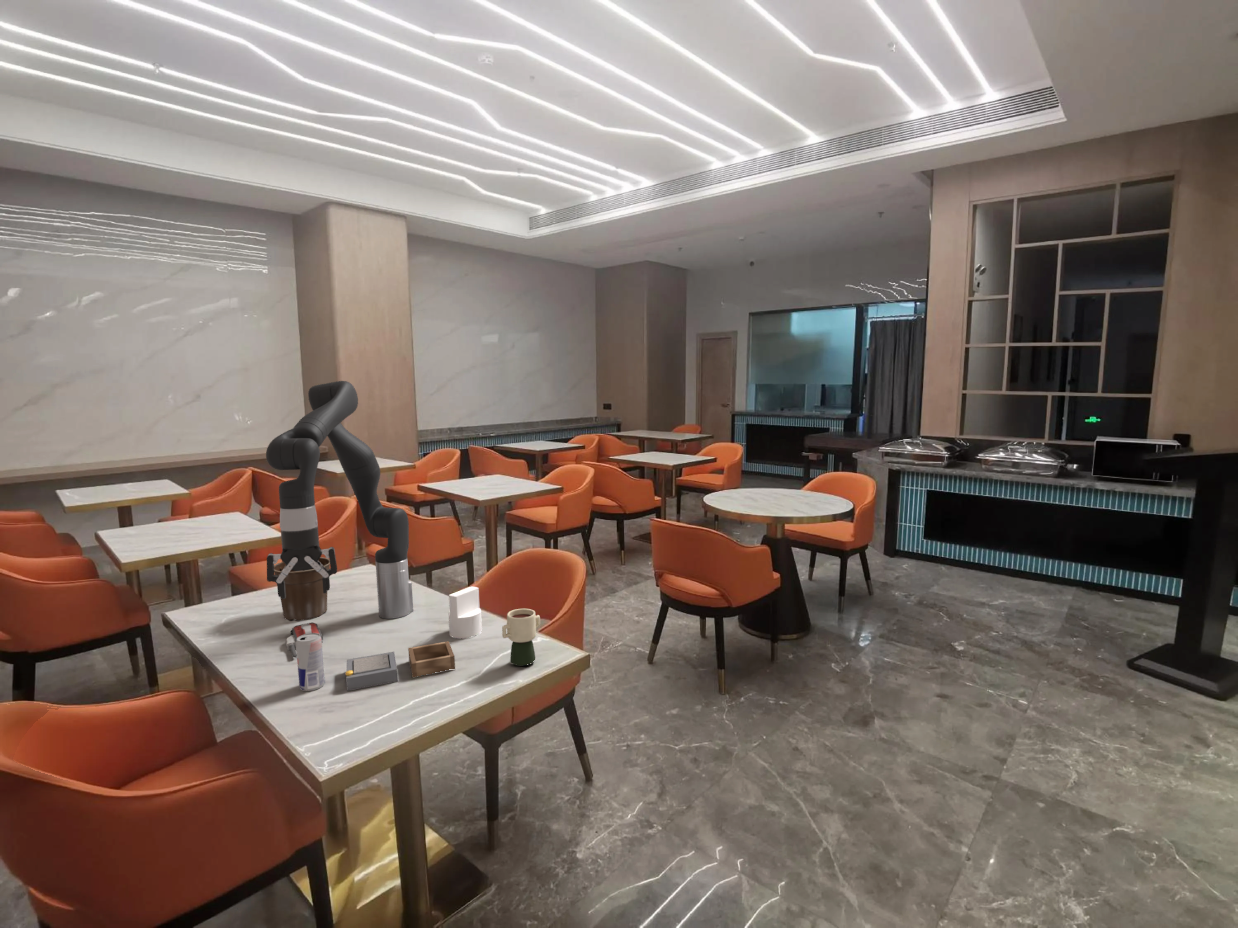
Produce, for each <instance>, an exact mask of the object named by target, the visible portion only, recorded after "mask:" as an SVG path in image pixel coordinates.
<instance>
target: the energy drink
mask: <svg viewBox="0 0 1238 928" xmlns="http://www.w3.org/2000/svg"><path fill="white" fill-rule="evenodd" d="M322 641H323V640H322V639H321V636H320V634H318V633H309V634H304V635H301V636H299V637H298V638H297V641H296V649H295V651H296V654H297V657H296V660H297V662H296V663H297V672H298V673H297V674H298V675H297V676H298V685H299V687H298V688H299V689H300V690H301V691H303V692H313V691H317V690H319V689H321V688H322V687H324V685H325V683H326V680H325V678H326V677H325V667H324V666H325V665H324V664H325V663H324V657H323V656H324V654H323V653H324V652H323V643H322Z"/></svg>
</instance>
